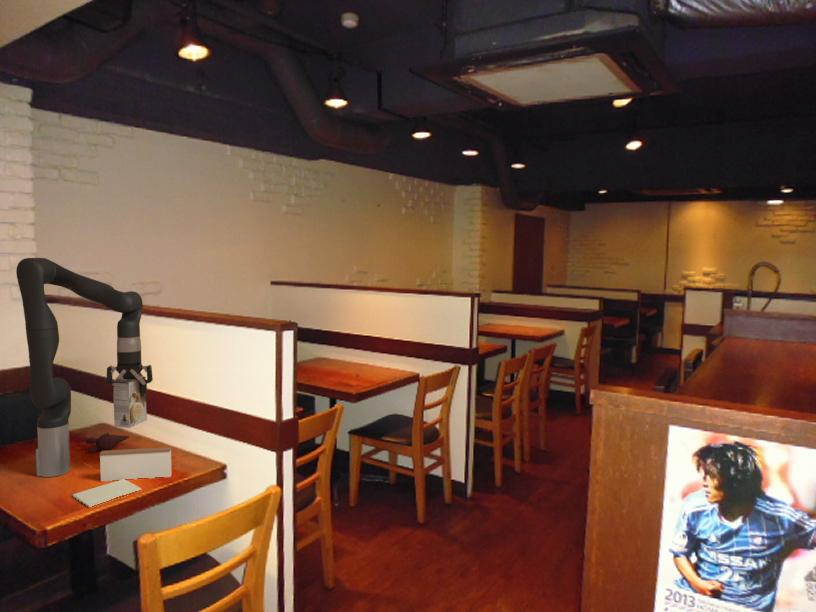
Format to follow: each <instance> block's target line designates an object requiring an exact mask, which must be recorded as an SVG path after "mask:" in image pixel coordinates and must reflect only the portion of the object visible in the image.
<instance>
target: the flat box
mask: <svg viewBox="0 0 816 612" xmlns="http://www.w3.org/2000/svg"><path fill="white" fill-rule="evenodd" d="M99 460H100V461H99V468H100V469H99V470H100V482H101V481H105V482H113V481H112V480H122V479H134V480H138V479H137V478H149V479H156V478H155V477H164V478H171V477H172V446H165V447H149V448H133V449H132V448H130V449H129V448H128V449H127V448H126V449H113V450H101V452H99Z"/></svg>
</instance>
